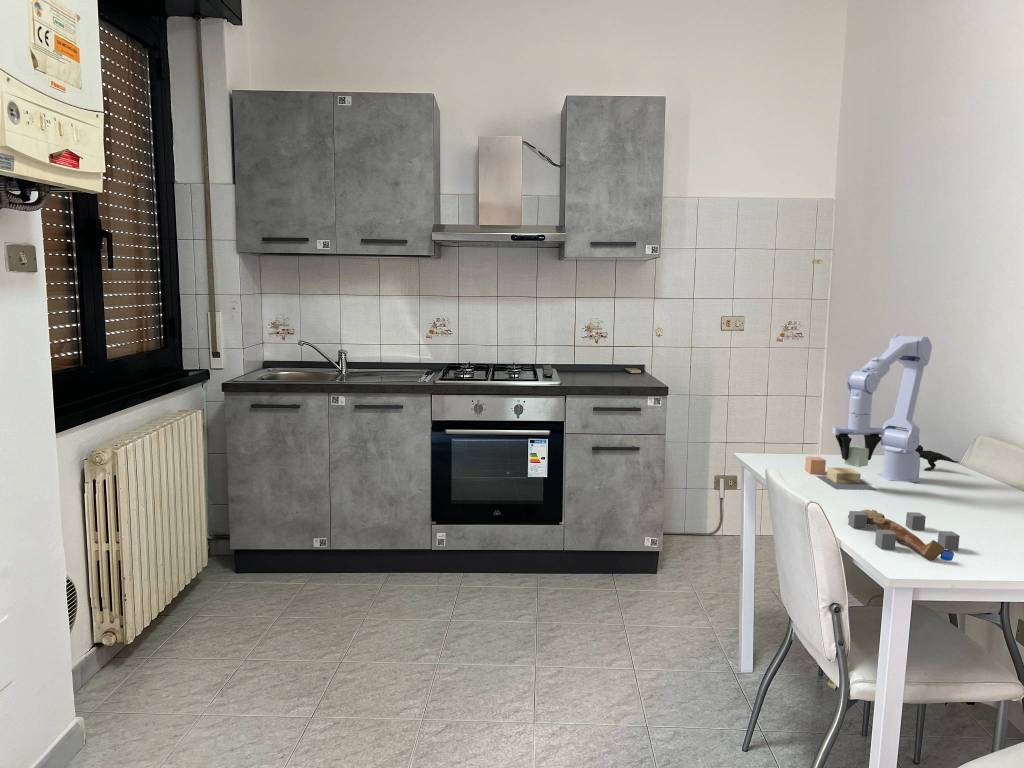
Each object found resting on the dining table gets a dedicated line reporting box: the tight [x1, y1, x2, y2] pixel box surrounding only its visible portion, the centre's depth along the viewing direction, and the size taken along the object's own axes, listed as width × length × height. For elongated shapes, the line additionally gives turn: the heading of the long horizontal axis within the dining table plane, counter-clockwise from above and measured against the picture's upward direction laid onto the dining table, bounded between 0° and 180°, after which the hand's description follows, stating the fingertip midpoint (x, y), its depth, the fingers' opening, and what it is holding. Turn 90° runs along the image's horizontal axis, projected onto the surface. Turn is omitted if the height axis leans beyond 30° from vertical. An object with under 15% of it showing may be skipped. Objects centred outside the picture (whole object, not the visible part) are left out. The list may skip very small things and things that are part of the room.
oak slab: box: [826, 467, 862, 483], centre depth 223 cm, size 7×7×3 cm
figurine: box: [847, 509, 945, 561], centre depth 173 cm, size 8×6×30 cm
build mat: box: [815, 475, 878, 491], centre depth 220 cm, size 12×15×1 cm
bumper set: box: [847, 510, 960, 552], centre depth 173 cm, size 17×17×4 cm
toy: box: [915, 444, 960, 472], centre depth 238 cm, size 5×15×8 cm, turn 39°
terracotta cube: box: [804, 456, 827, 475], centre depth 232 cm, size 4×4×5 cm
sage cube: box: [843, 445, 869, 468], centre depth 214 cm, size 4×4×5 cm
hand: (856, 459), depth 214 cm, fingers closed on sage cube, 6 cm apart
